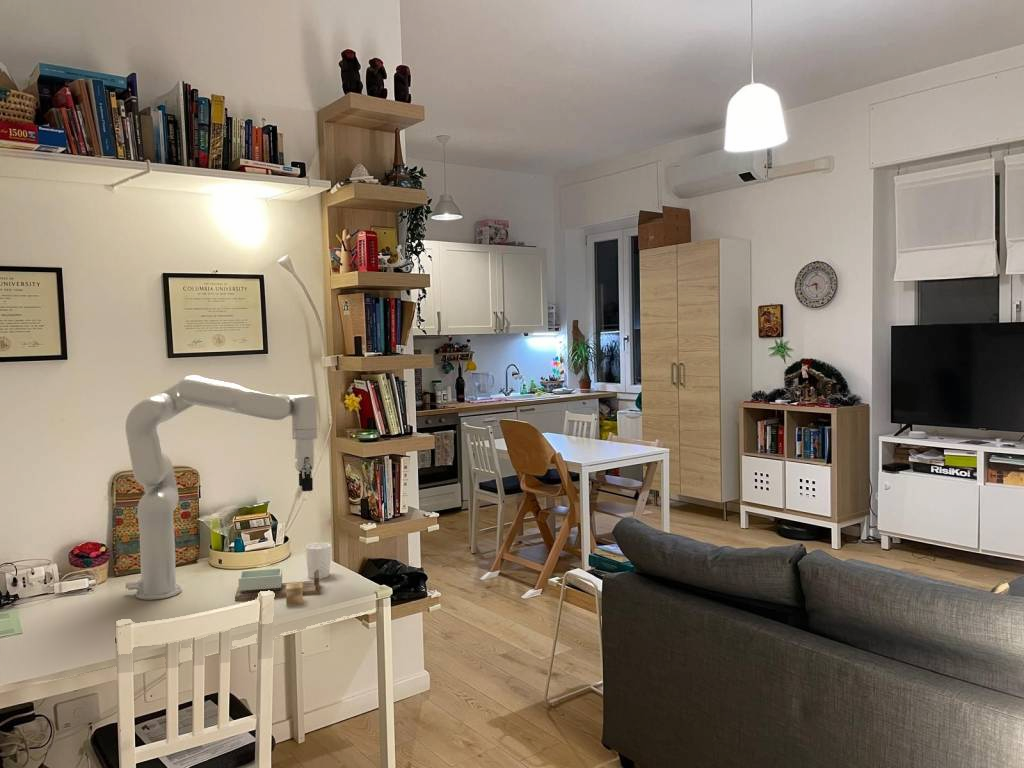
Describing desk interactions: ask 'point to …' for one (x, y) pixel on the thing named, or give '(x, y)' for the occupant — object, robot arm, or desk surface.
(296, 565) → the desk surface
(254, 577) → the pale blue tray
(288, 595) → the block
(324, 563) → the white cup
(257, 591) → the rail
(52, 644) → the desk surface
